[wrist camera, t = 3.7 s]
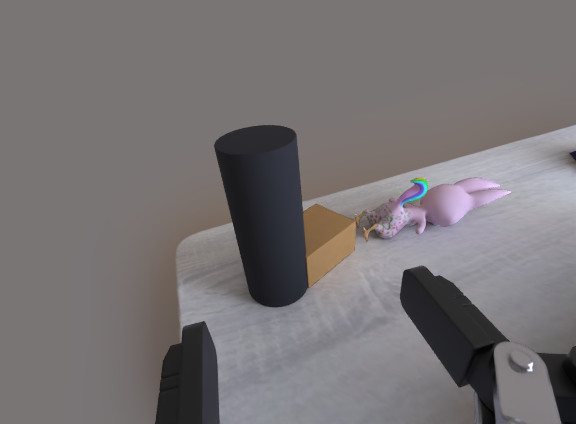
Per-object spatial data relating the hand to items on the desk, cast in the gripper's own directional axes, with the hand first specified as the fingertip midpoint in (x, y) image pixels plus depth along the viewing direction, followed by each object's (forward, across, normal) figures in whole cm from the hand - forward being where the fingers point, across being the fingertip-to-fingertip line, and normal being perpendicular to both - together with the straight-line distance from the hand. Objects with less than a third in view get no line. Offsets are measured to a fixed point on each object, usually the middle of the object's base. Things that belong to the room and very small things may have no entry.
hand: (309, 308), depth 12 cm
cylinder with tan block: (+12, -2, +10) cm, 16 cm away
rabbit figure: (+14, -16, +10) cm, 24 cm away
